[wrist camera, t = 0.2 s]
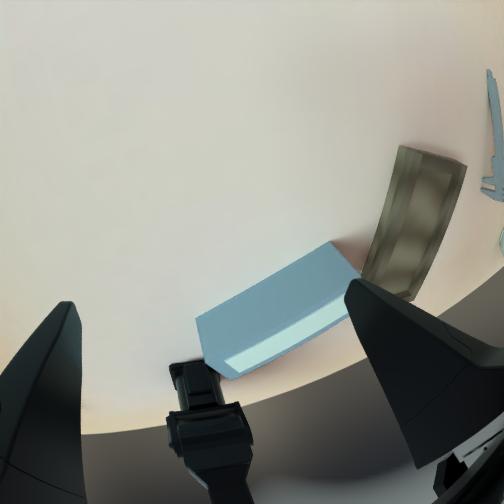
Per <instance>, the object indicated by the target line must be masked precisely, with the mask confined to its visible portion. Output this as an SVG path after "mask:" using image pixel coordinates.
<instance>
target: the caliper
mask: <svg viewBox="0 0 504 504" xmlns="http://www.w3.org/2000/svg"><path fill="white" fill-rule="evenodd" d="M487 74H488V78H487V86H488V92H489V98H490V104H491V111H492V119H493V129H494V143H495V156H493V157H491V160H492V171H493V173H494V177H485V178H483V179H482V182H485V183H487V184H491V185H495V190H491V189H488V188H484V187H482V188H481V192H483V193H484V194H486V195H487V196H489V197H490V198H492V199H493V200H497V201H500V202H504V139H503V126H502V116H501V108H500V101H499V94H498V89H497V83H496V79H494V78H493V76H492V72H491V71H490V70H489V69H487Z"/></svg>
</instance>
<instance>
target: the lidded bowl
mask: <svg viewBox="0 0 504 504" xmlns="http://www.w3.org/2000/svg"><path fill="white" fill-rule="evenodd" d="M499 243H500V245H501V251H502V254H503V256H504V229H503V231H502V233H501V236H500V240H499Z"/></svg>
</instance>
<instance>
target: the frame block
mask: <svg viewBox="0 0 504 504" xmlns="http://www.w3.org/2000/svg"><path fill="white" fill-rule="evenodd" d="M355 278H361V275H360V274H359V273H358V272H357V271H356V270H355V269H354V268H353V266H352V265H351V264H350V263H349V262H348V261H347V260H346V259H345V258H344V256H343V255H342V254H341V253H340V252H339V251H338V250H337V249H336V248H335V247H334V246H333V244H332V243H331V242H330V241H328V242H327V243H325V244H323V245H322V246H320V247H319V248H317V249H315V250H314V251H312V252H310V253H308V254H307V255H305V256H303V257H302V258H300V259H298V260H297V261H295V262H293V263H292V264H290V265H288V266H287V267H285V268H283V269H281V270H280V271H278V272H276V273H275V274H273V275H271V276H269V277H268V278H266V279H264V280H262V281H261V282H259V283H257V284H256V285H254V286H252V287H250V288H249V289H247V290H245V291H243V292H241V293H240V294H238V295H236V296H234V297H233V298H231V299H229V300H227V301H226V302H224V303H222V304H220V305H218V306H217V307H215V308H213V309H211V310H209V311H208V312H206V313H204V314H202V315H200V316H198V317H197V318H195V319H196V324H197V328H198V333H199V338H200V342H201V347H202V351H203V355H204V360H205V363H206V364H207V365H209V366H210V367H212V368H213V369H215V370H216V371H217V372H219V373H220V374H222V375H223V376H225V377H226V378H228V379H229V380H233V379H236V378H238V377H240V376H242V375H244V374H246V373H248V372H250V371H252V370H254V369H256V368H258V367H260V366H262V365H264V364H266V363H268V362H270V361H272V360H274V359H276V358H278V357H280V356H282V355H284V354H285V353H287V352H289V351H291V350H293V349H295V348H296V347H298V346H300V345H302V344H304V343H305V342H307V341H309V340H311V339H312V338H314V337H316V336H317V335H319V334H321V333H323V332H324V331H326V330H328V329H329V328H331V327H333V326H334V325H336V324H337V323H339V322H341V321H342V320H344V319H345V318H347V317H349V313H348V311H347V308H346V306H345V303H344V295H345V293H346V290H347V288H348V286H349V283H350V281H351V280H352V279H355Z"/></svg>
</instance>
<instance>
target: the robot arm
mask: <svg viewBox="0 0 504 504" xmlns="http://www.w3.org/2000/svg"><path fill="white" fill-rule="evenodd" d="M344 303H345V306H346V308H347V311H348V313H349V316H350V318H351V321H352V323H353V326H354V329H355V331H356V334H357V336H358V338H359V340H360V343H361V345H362V347H363V349H364V351H365V353H366V355H367V357H368V359H369V361H370V363H371V365H372V367H373V369H374V371H375V374H376V376H377V378H378V380H379V382H380V384H381V386H382V388H383V391H384V393H385V395H386V397H387V400H388V402H389V404H390V406H391V408H392V411H393V413H394V415H395V418H396V420H397V422H398V425H399V427H400V430H401V432H402V434H403V437H404V439H405V442H406V444H407V447H408V449H409V452H410V454H411V457H412V459H413V462H414V465H415V467H416V469H419V468H422V467H424V466H425V465H427V464H429V463H431V462H433V461H435V460H436V459H438V458H440V457H441V456H443V455H445V454H446V453H448V452H450V451H451V450H452V451H451V453H449V454H448V455H447V456H446V457H445V458H444V459H443V460H441V461H440V462H439V463H438V465H437V471H436V476H435V481H434V486H433V489H434V491H435V493H436V494H437V496H438V499H437V500H435V501H434V502H433V503H432V504H504V347H503V348H502V347H500V348H499V347H494V346H491V345H489V344H486V343H485V342H483V341H481V340H478V339H476V338H474V337H472V336H470V335H468V334H466V333H464V332H462V331H460V330H458V329H457V328H455V327H452V326H451V325H449V324H447V323H445V322H444V321H441V320H440V319H438V318H436V317H435V316H433V315H431V314H429V313H427V312H426V311H424V310H422V309H420V308H418V307H416V306H415V305H413V304H411V303H409V302H407V301H405V300H403V299H402V298H400V297H398V296H396V295H394V294H392V293H390V292H389V291H387V290H385V289H383V288H381V287H379V286H377V285H375V284H373V283H371V282H370V281H368V280H366V279H364V278H355V279H352V280H351V281H350V283H349V286H348V288H347V290H346V293H345V295H344ZM169 371H170V374H171V377H172V381H173V384H174V387H175V390H177V393H178V399H179V404H180V409H181V411H175V412H174V411H169V416H168V417H166V422H167V428H168V441H169V447H170V448H171V449H173V450H174V451H175V453H176V454H177V456H178V458H179V459H181V458H184V462H185V465H186V467H187V469H188V471H189V472H190V474H191V475H192V476H193V477H194V478H195V479H196V480H198V482H200V483H201V484H202V485H203V486H204V487H205V488H206V489H207V490H208V492H209V495H210V498H211V502H212V504H254V501H253V499H252V496H251V493H250V491H249V488H248V485H247V482H246V477H247V474H248V471H249V467H250V464H251V460H252V457H253V453H252V450H251V447H252V446H253V437H252V433H251V429H250V427H249V424H248V422H247V420H246V417H245V415H244V413H243V411H242V408H241V406H240V404H239V401H237V402H234V403H230V404H225V400H224V397H223V393H222V390H221V386H220V373H219V372H217V371H216V370H215V369H213V368H212V367H210V366H209V365H207V364H206V363H205V360H204V361H197V362H190V363H183V364H175V365H170V366H169ZM81 386H82V324H81V320H80V318H79V315H78V312H77V310H76V307H75V304H74V303H73V302H72V301H62V302H60V303H58V305H57V306H56V307H55V308H54V309H53V310H52V311H51V312H50V314H49V315H48V316H47V317H46V318H45V319H44V320H43V322H42V323H41V324H40V325H39V326H38V327H37V329H36V330H35V331H34V332H33V333H32V335H31V336H30V337H29V338H28V339H27V341H26V342H25V343H24V344H23V346H22V347H21V348H20V350H19V351H18V352H17V353H16V355H15V356H14V357H13V359H12V360H11V361H10V363H9V364H8V365H7V367H6V368H5V369H4V371H3V372H2V374H1V375H0V504H87V499H86V491H85V484H84V475H83V464H82V451H81Z"/></svg>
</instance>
